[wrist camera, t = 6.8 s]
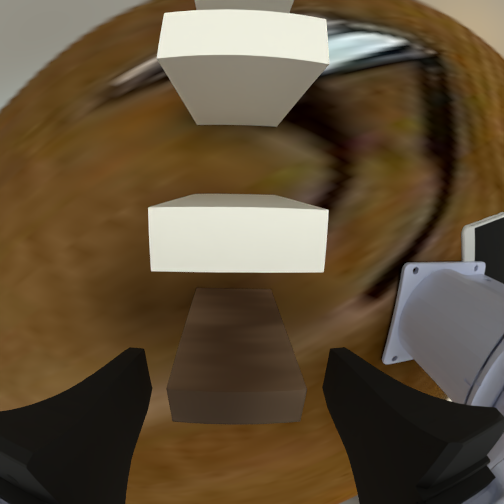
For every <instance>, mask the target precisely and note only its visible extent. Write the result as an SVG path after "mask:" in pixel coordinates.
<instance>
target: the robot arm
mask: <svg viewBox="0 0 504 504" xmlns="http://www.w3.org/2000/svg"><path fill="white" fill-rule="evenodd" d="M485 267H486V266H485V263H484V262H482V261H464V262H408V263H406V264H404V266H403V267H402V272H401V278H400V283H399V289H398V294H397V299H396V304H395V309H394V313H393V318H392V322H391V326H390V330H389V334H388V338H387V342H386V346H385V349H384V353H383V357H382V361H383V363H384V364H393V363H398V362H403V361H408V360H412V359H414V360H415V361H416V362H417V363H418V364H419V365H420V366H421V367H422V368H423V369H424V371H425V372H426V373H427V374H428V375H429V376H430V377H431V378H432V379H433V380H434V381H435V382H436V384H437V385H438V386H439V387H440V388H441V389H442V390H443V391H444V392H445V394H446V395H447V396H448V397H449V398H450V399H451V400H452V401H453V402H451V401H447V400H443V399H440V398H437V397H433V396H430V395H428V394H425V393H422V392H420V391H418V390H415V389H413V388H411V387H409V386H407V385H405V384H403V383H401V382H399V381H397V380H395V379H393V378H392V377H390V376H388V375H386V374H385V373H383V372H382V371H380V370H378V369H377V368H375V367H374V366H372V365H371V364H369V363H368V362H366V361H365V360H363V359H362V358H360V357H359V356H357V355H356V354H354V353H353V352H351V351H350V350H348V349H346V348H345V347H343V348H333V349H330V353H329V358H328V363H327V368H326V373H325V378H324V383H323V387H322V388H323V392H324V396H325V400H326V403H327V407H328V409H329V412H330V414H331V417H332V419H333V421H334V424H335V426H336V428H337V430H338V433H339V435H340V437H341V439H342V442H343V444H344V446H345V449H346V451H347V454H348V457H349V460H350V464H351V468H352V471H353V475H354V479H355V483H356V488H357V492H358V497H359V502H360V504H504V284H503V283H501V282H499V281H496V280H494V279H492V278H490V277H488V276H486V275H484V272H485ZM414 268H415V271H414V272H413V269H414ZM474 268H475V269H474ZM394 356H395V357H394ZM393 357H394V358H393ZM151 392H152V385H151V381H150V376H149V371H148V366H147V361H146V356H145V351H144V349H141V348H128V349H127V350H125V351H124V352H122V353H121V354H120V355H118V356H117V357H116V358H114V359H113V360H112V361H110V362H109V363H108V364H106V365H105V366H104V367H102V368H101V369H100V370H98V371H97V372H95V373H94V374H92V375H91V376H89V377H88V378H86V379H85V380H83V381H82V382H80V383H78V384H77V385H75V386H73V387H72V388H70V389H68V390H66V391H64V392H62V393H60V394H58V395H56V396H53V397H51V398H48V399H46V400H43V401H41V402H38V403H35V404H32V405H29V406H25V407H21V408H17V409H13V410H7V411H0V504H125V499H126V490H127V482H128V476H129V470H130V464H131V459H132V455H133V452H134V448H135V445H136V443H137V440H138V437H139V434H140V431H141V428H142V425H143V422H144V419H145V416H146V414H147V411H148V407H149V402H150V397H151Z"/></svg>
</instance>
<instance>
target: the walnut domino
mask: <svg viewBox="0 0 504 504" xmlns="http://www.w3.org/2000/svg"><path fill="white" fill-rule="evenodd" d="M306 392H307V388H306V385H305V383H304V380H303V377H302V374H301V371H300V369H299V366H298V363H297V360H296V357H295V355H294V352H293V349H292V346H291V343H290V341H289V338H288V335H287V332H286V330H285V327H284V324H283V321H282V318H281V316H280V313H279V310H278V307H277V305H276V302H275V299H274V296H273V294H272V291H271V289H227V288H196V291H195V294H194V297H193V301H192V304H191V307H190V310H189V313H188V317H187V320H186V323H185V326H184V330H183V333H182V336H181V340H180V343H179V347H178V350H177V353H176V357H175V360H174V364H173V367H172V371H171V375H170V378H169V382H168V385H167V394H168V400H169V405H170V410H171V415H172V420H173V421H175V422H187V423H203V424H270V423H286V422H298V421H300V419H301V415H302V410H303V406H304V401H305V396H306Z"/></svg>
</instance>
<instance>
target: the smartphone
mask: <svg viewBox="0 0 504 504" xmlns="http://www.w3.org/2000/svg"><path fill="white" fill-rule="evenodd" d="M466 226H467V227H466ZM466 226H464V227H463V229H462V232H461V244H462V262H464V261H482V262H484V263H485V266H486V267H485V272H484V275H486V276H488V277H490V278H492V279H494V280H496V281H499V282H501V283H503V284H504V212H501V213H499V214H498V215H493V216H490V217H487V218H485V219H483V220H480V221H477V222H474V223H471V224H468V225H466ZM474 269H475V268H474Z"/></svg>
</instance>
